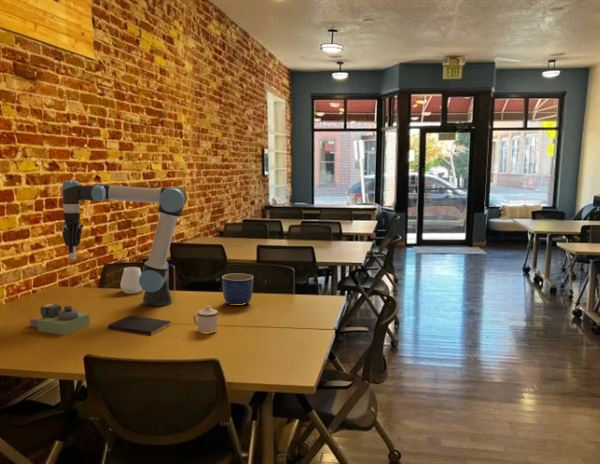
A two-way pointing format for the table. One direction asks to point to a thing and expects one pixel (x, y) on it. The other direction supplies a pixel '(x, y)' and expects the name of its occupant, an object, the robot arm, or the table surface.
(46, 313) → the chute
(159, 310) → the table surface
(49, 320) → the flat slab with knob
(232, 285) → the planter
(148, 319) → the hardcover book
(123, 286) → the cup
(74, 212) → the robot arm
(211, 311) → the teacup with lid
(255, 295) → the table surface
